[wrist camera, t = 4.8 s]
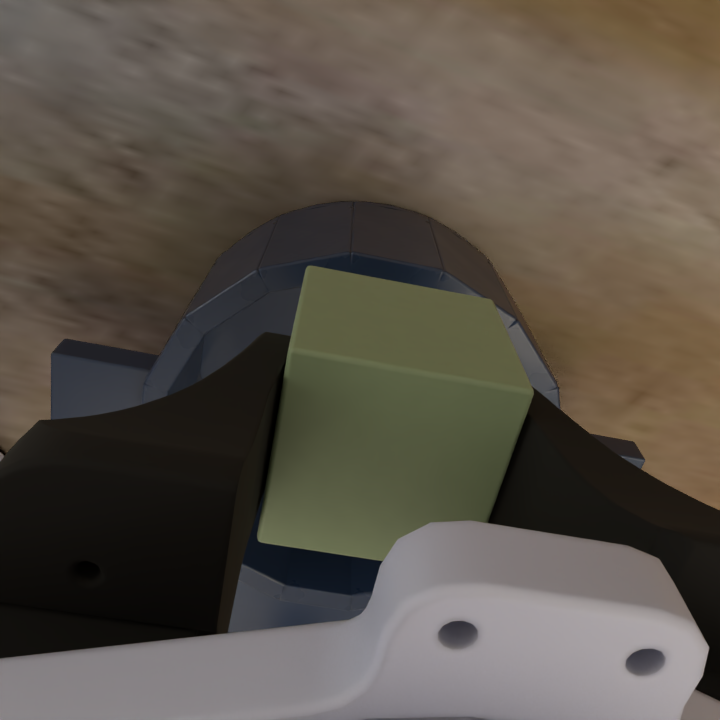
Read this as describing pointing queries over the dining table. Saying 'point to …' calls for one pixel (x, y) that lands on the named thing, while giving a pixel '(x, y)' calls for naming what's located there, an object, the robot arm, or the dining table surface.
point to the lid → (277, 612)
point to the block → (389, 414)
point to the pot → (276, 315)
